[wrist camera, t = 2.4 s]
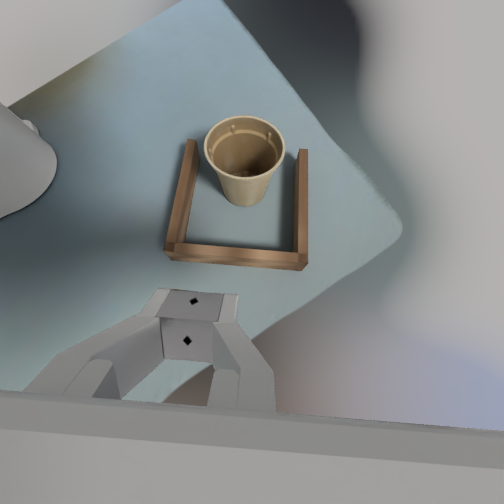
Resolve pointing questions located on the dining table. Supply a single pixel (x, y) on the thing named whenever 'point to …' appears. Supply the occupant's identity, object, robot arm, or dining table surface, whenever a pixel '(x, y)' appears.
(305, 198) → the wooden u-shaped frame
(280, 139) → the flower pot
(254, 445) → the robot arm
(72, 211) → the dining table surface
